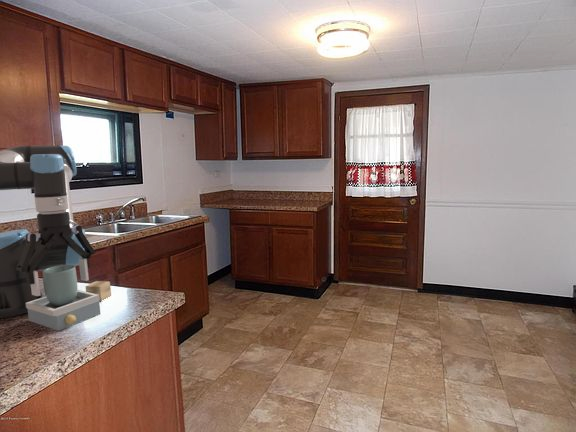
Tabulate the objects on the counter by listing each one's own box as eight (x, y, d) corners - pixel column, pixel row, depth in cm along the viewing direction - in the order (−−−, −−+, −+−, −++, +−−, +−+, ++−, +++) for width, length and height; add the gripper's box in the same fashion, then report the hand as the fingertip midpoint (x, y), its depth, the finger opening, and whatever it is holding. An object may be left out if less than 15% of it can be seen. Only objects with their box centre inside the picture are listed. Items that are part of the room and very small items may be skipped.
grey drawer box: (27, 321, 106) (24, 302, 105) (72, 305, 117) (70, 288, 117) (59, 332, 99) (56, 312, 98) (104, 314, 110) (102, 295, 109)
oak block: (87, 301, 121) (85, 286, 120) (97, 295, 126) (95, 281, 125) (101, 302, 120) (100, 286, 119) (111, 296, 125) (109, 281, 124)
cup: (64, 309, 103) (60, 273, 102) (40, 307, 105) (35, 272, 103) (85, 298, 111) (81, 265, 109) (61, 297, 112) (57, 264, 111)
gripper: (8, 219, 92) (20, 304, 95) (103, 206, 113) (110, 276, 116) (-7, 218, 95) (4, 299, 98) (87, 205, 117) (94, 273, 120)
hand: (61, 287), depth 107 cm, fingers open, 13 cm apart
